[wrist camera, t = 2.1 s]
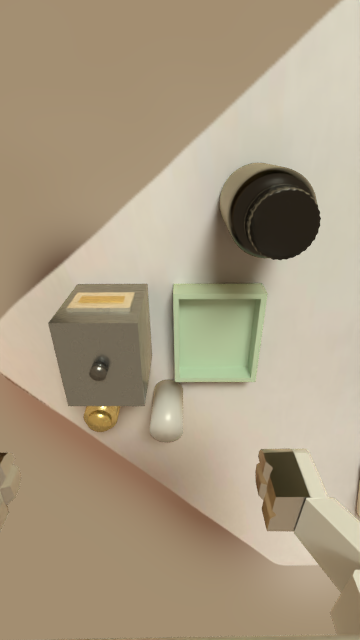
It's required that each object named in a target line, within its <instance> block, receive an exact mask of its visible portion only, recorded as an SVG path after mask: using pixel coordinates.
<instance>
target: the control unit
mask: <svg viewBox="0 0 360 640" xmlns="http://www.w3.org/2000/svg"><path fill="white" fill-rule="evenodd" d="M48 324H49V328H50V332H51V337H52V341H53V345H54V349H55V353H56V357H57V361H58V365H59V369H60V373H61V378H62V382H63V386H64V390H65V394H66V398H67V402H68V406H145V400H146V393H147V386H148V379H149V373H150V366H151V359H152V348H151V332H150V316H149V301H148V285H147V284H77V286H76V287H75V288H74V290H73V291H72V292H71V294H70V295H69V296H68V298H67V299H66V300H65V302H64V303H63V304H62V306H61V307H60V308H59V310H58V311H57V312H56V314H55V315H54V316H53V318H52V319H51V320H50V322H49V323H48Z"/></svg>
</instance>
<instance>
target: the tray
mask: <svg viewBox="0 0 360 640" xmlns="http://www.w3.org/2000/svg"><path fill="white" fill-rule="evenodd" d="M266 301H267V292H266V290H265V288H264V287H263V285H262V283H251V284H174V287H173V316H174V362H175V382H255V381H256V373H257V366H258V359H259V352H260V344H261V337H262V330H263V322H264V315H265V308H266Z"/></svg>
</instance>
